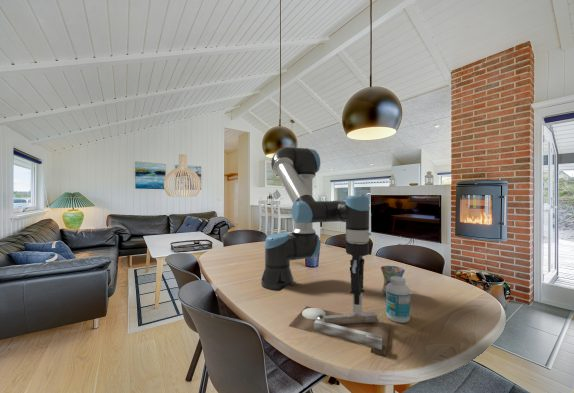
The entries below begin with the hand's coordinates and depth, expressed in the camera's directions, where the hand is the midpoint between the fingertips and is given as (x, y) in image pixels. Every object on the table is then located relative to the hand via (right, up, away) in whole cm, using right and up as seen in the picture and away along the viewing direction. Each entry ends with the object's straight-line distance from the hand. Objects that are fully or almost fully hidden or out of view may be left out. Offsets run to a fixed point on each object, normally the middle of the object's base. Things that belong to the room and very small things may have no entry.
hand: (357, 312), depth 81 cm
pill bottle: (+14, -3, +1) cm, 14 cm away
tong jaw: (-5, -1, -5) cm, 7 cm away
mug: (+22, -3, +23) cm, 32 cm away
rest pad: (-14, -1, +2) cm, 15 cm away
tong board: (-7, -3, -5) cm, 9 cm away
